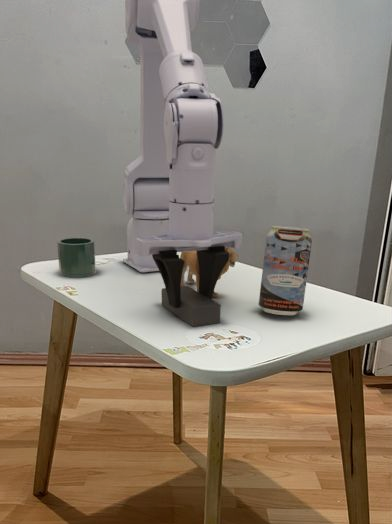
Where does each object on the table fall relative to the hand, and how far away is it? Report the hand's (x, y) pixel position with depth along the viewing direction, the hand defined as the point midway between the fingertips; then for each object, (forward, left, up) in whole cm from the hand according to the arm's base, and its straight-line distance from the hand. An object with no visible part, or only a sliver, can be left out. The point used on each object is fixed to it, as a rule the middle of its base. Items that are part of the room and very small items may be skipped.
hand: (189, 303), depth 77 cm
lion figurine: (-9, +6, -2) cm, 11 cm away
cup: (-28, -8, -1) cm, 29 cm away
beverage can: (+5, +12, -2) cm, 13 cm away
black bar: (0, 0, -1) cm, 1 cm away
